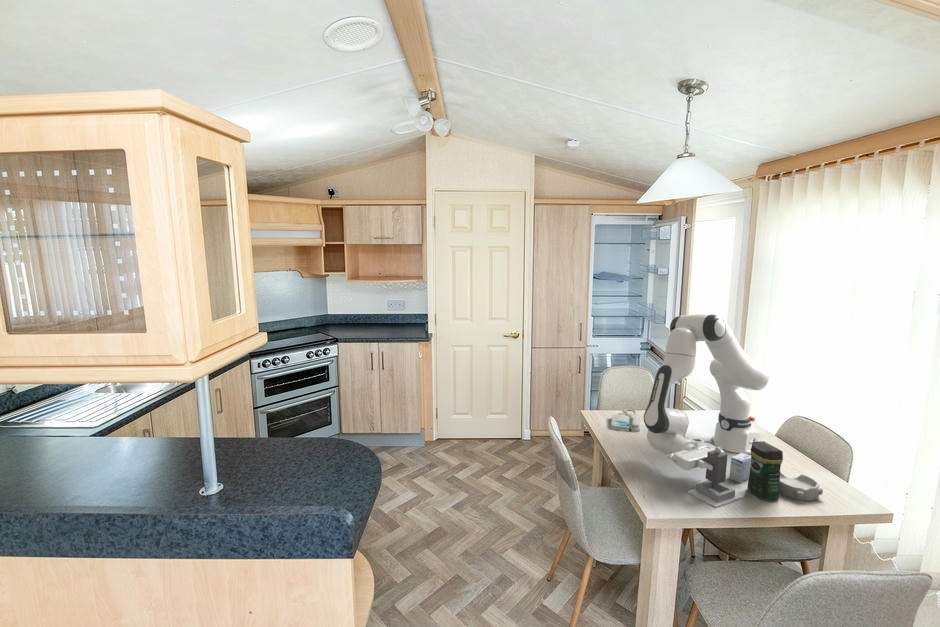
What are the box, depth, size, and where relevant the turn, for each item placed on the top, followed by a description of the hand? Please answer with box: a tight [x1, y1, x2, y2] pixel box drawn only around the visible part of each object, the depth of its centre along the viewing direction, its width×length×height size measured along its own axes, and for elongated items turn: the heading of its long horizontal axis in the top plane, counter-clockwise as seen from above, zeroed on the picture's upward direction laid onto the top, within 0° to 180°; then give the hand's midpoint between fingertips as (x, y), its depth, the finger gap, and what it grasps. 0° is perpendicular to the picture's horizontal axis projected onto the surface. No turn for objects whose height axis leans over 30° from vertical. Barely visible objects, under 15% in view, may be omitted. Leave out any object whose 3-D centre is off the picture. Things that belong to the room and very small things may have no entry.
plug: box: [705, 446, 728, 484], centre depth 159 cm, size 4×4×12 cm
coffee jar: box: [747, 440, 784, 501], centre depth 160 cm, size 10×8×19 cm
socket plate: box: [687, 480, 743, 509], centre depth 161 cm, size 14×11×3 cm
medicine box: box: [728, 453, 751, 484], centre depth 172 cm, size 8×4×9 cm, turn 123°
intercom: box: [610, 408, 641, 433], centre depth 230 cm, size 13×4×25 cm
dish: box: [780, 471, 824, 501], centre depth 163 cm, size 14×14×5 cm
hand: (718, 466), depth 158 cm, fingers closed on plug, 4 cm apart
